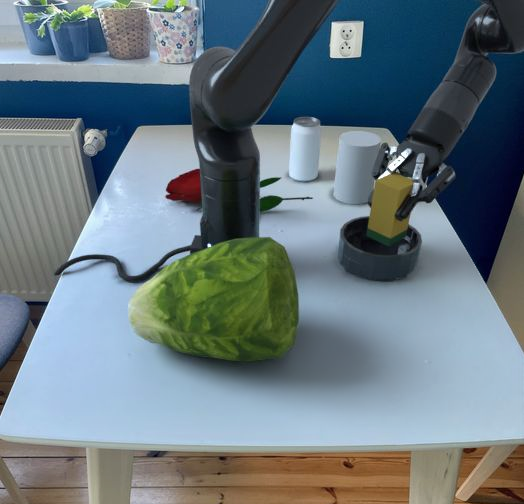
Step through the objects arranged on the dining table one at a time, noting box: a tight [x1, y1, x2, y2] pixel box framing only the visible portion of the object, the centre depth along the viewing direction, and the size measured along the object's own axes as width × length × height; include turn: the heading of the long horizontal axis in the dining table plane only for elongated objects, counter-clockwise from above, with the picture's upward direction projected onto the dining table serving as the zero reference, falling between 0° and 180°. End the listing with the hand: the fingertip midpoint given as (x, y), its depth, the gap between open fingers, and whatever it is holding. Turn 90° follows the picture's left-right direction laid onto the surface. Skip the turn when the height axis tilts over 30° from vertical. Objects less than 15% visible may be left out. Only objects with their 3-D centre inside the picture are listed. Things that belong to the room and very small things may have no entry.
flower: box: [164, 168, 314, 213], centre depth 106 cm, size 9×10×30 cm
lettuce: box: [127, 236, 300, 362], centre depth 73 cm, size 17×23×16 cm
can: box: [288, 116, 322, 183], centre depth 117 cm, size 6×6×12 cm
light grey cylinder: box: [333, 130, 382, 205], centre depth 110 cm, size 8×8×12 cm
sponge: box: [366, 173, 413, 247], centre depth 89 cm, size 5×5×10 cm
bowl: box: [337, 215, 423, 282], centre depth 94 cm, size 14×14×5 cm
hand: (384, 212), depth 88 cm, fingers closed on sponge, 4 cm apart
